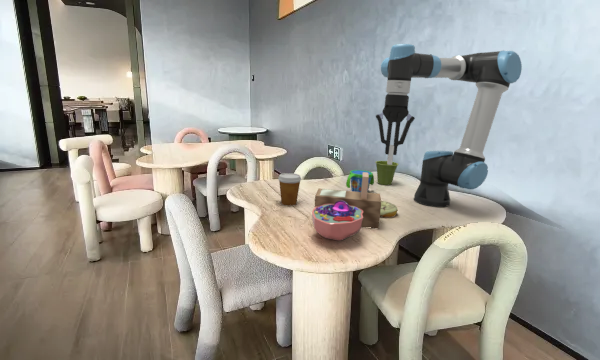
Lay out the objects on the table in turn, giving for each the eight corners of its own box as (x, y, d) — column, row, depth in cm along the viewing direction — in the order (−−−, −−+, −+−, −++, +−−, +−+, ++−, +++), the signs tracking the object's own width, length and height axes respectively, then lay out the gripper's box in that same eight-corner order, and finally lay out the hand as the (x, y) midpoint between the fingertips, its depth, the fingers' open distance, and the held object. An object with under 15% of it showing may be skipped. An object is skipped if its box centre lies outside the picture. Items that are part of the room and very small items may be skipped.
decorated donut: (382, 220, 131) (383, 210, 130) (360, 211, 141) (361, 201, 140) (402, 215, 138) (403, 205, 137) (380, 207, 147) (381, 197, 146)
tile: (366, 193, 129) (368, 172, 127) (366, 199, 122) (368, 177, 120) (360, 193, 129) (362, 172, 127) (360, 198, 123) (362, 176, 121)
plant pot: (398, 187, 179) (401, 165, 176) (375, 186, 179) (377, 164, 176) (393, 181, 190) (395, 161, 187) (371, 180, 190) (373, 160, 187)
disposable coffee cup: (303, 202, 148) (305, 174, 145) (294, 208, 140) (295, 179, 137) (284, 198, 152) (284, 171, 149) (273, 204, 144) (274, 176, 141)
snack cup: (366, 188, 173) (367, 168, 171) (379, 194, 164) (381, 173, 162) (339, 191, 167) (341, 170, 164) (352, 197, 157) (353, 175, 155)
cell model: (298, 239, 111) (299, 205, 108) (327, 221, 128) (329, 191, 125) (346, 254, 103) (349, 218, 100) (371, 232, 119) (374, 201, 116)
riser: (377, 218, 132) (380, 193, 130) (378, 228, 123) (381, 201, 120) (317, 213, 136) (318, 187, 133) (313, 222, 126) (315, 195, 124)
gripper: (377, 93, 113) (370, 164, 119) (419, 95, 111) (410, 167, 117) (376, 93, 120) (370, 160, 126) (416, 95, 118) (407, 163, 124)
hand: (389, 163), depth 121 cm, fingers closed
